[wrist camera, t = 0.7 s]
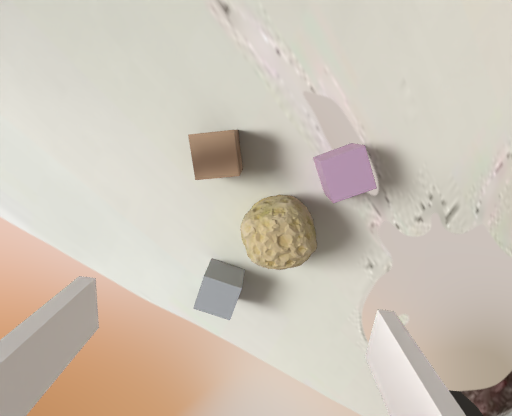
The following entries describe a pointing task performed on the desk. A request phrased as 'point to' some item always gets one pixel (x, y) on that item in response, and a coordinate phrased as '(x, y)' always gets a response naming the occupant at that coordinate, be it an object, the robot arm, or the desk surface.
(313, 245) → the decorative object
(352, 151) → the plum cube
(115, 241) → the desk surface
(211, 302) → the slate cube
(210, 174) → the walnut cube
